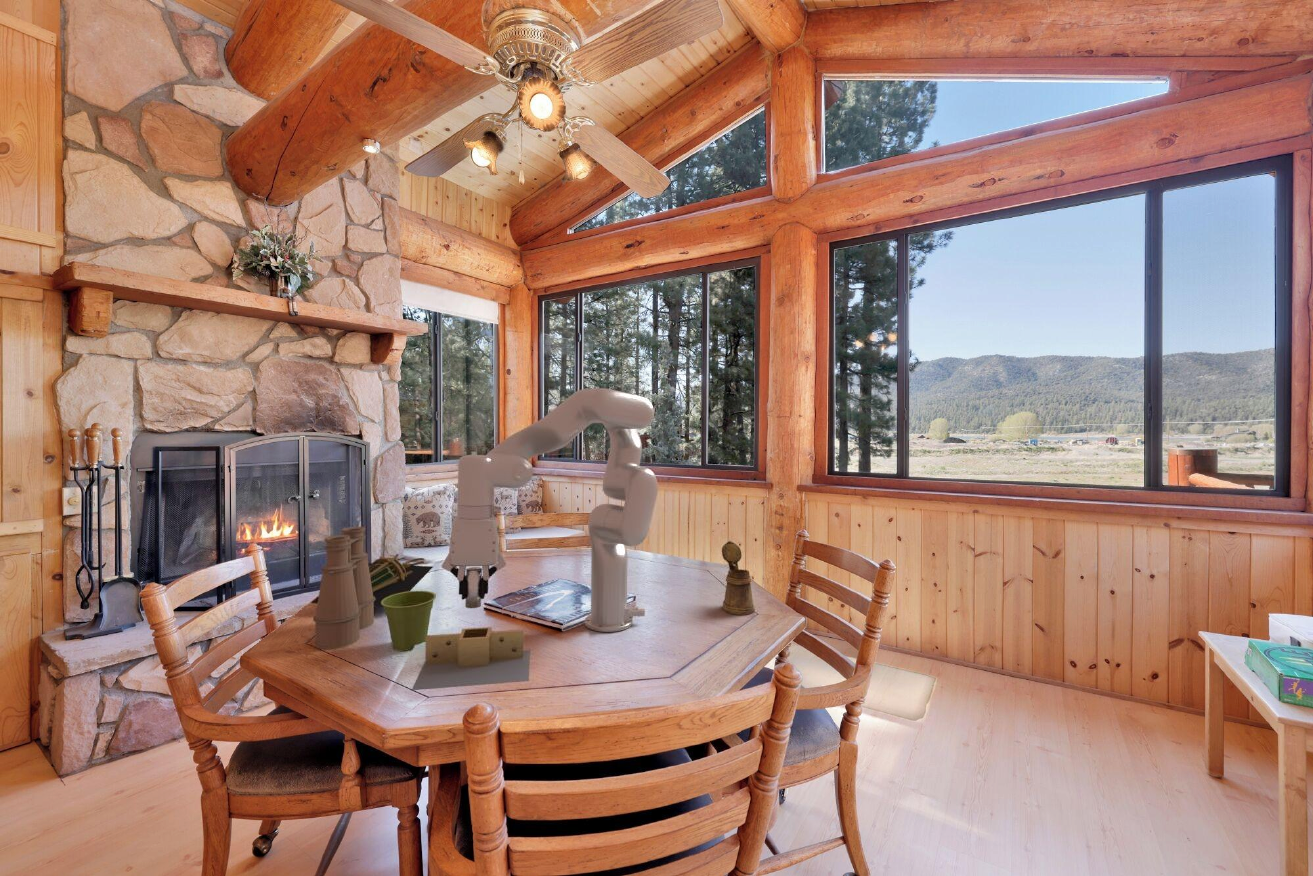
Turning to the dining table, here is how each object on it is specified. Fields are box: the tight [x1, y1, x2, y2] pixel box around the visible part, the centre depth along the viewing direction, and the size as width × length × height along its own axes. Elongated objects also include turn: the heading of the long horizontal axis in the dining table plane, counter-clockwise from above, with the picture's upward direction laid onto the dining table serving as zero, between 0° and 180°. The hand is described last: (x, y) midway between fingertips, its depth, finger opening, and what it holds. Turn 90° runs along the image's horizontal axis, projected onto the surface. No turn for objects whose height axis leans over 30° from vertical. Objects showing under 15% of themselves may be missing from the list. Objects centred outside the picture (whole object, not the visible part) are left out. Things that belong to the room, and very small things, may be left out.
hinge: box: [425, 626, 524, 668], centre depth 120 cm, size 20×6×6 cm, turn 102°
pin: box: [464, 566, 483, 609], centre depth 119 cm, size 3×3×8 cm
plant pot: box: [381, 590, 437, 652], centre depth 130 cm, size 12×12×11 cm
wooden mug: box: [721, 540, 755, 616], centre depth 160 cm, size 9×14×18 cm, turn 11°
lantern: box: [310, 553, 434, 608], centre depth 164 cm, size 14×23×30 cm
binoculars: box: [312, 526, 376, 650], centre depth 137 cm, size 21×10×25 cm, turn 10°
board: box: [411, 649, 531, 691], centre depth 116 cm, size 22×15×1 cm
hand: (473, 596), depth 119 cm, fingers closed on pin, 3 cm apart
